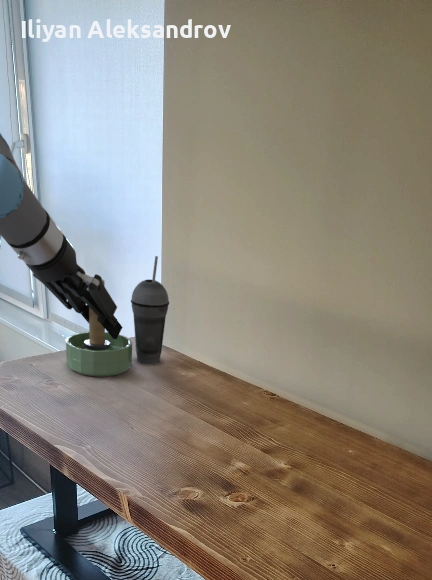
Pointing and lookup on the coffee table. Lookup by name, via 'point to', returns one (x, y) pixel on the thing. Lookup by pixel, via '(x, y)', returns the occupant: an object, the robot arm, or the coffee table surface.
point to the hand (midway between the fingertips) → (110, 330)
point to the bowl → (99, 356)
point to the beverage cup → (149, 318)
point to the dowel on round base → (96, 333)
